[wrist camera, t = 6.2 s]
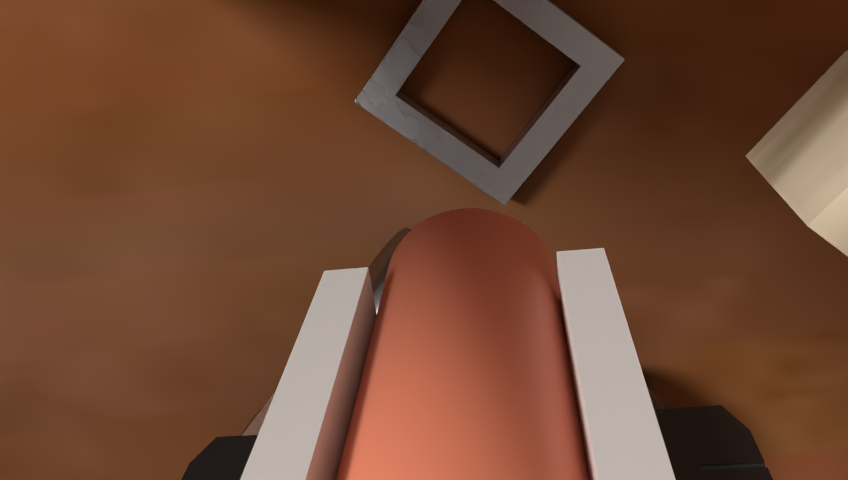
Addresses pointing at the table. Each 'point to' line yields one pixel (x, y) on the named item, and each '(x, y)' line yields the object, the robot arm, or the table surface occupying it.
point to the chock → (813, 156)
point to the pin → (467, 361)
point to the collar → (541, 133)
